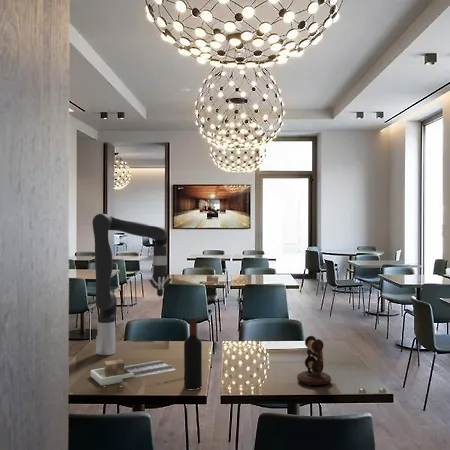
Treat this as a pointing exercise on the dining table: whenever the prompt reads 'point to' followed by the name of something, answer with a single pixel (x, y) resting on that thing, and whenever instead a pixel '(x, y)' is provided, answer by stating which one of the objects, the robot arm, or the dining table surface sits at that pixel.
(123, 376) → the tray
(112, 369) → the block
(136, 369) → the slot plate
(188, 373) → the wine bottle
